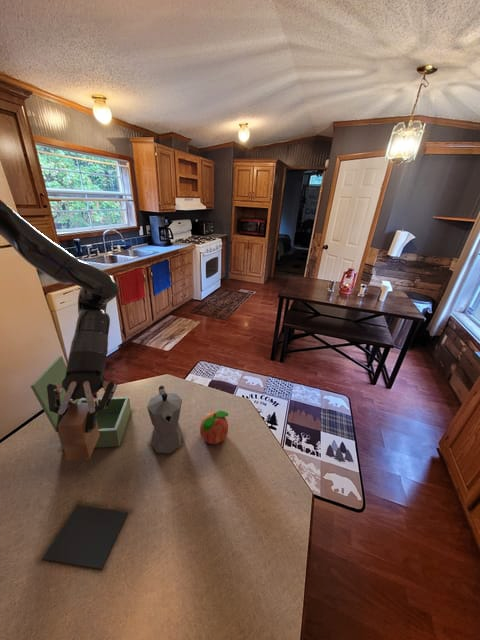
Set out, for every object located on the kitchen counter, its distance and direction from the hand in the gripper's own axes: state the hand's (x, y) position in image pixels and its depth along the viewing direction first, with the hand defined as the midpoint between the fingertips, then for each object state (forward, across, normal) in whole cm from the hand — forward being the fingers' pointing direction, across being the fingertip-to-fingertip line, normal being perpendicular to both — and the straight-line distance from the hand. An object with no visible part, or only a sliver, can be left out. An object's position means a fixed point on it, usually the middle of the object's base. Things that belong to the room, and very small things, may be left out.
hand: (75, 432), depth 53 cm
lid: (-10, -13, +17) cm, 24 cm away
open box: (0, -4, +28) cm, 28 cm away
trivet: (+20, +3, +8) cm, 22 cm away
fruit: (+4, +30, +24) cm, 39 cm away
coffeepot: (+4, +16, +24) cm, 30 cm away
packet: (+3, 0, +6) cm, 7 cm away
